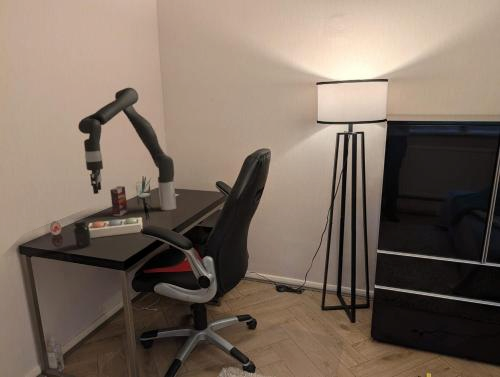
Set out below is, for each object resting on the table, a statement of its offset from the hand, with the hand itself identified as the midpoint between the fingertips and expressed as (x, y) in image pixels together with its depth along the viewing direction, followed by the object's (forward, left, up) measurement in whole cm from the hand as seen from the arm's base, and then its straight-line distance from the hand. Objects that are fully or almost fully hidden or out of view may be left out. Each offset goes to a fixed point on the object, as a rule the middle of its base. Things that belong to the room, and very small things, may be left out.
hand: (97, 191), depth 179 cm
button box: (-7, +4, -21) cm, 22 cm away
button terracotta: (+1, +4, -18) cm, 18 cm away
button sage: (-15, +4, -18) cm, 23 cm away
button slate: (-7, +4, -18) cm, 20 cm away
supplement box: (-7, -27, -21) cm, 35 cm away
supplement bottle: (+6, +19, -21) cm, 29 cm away
